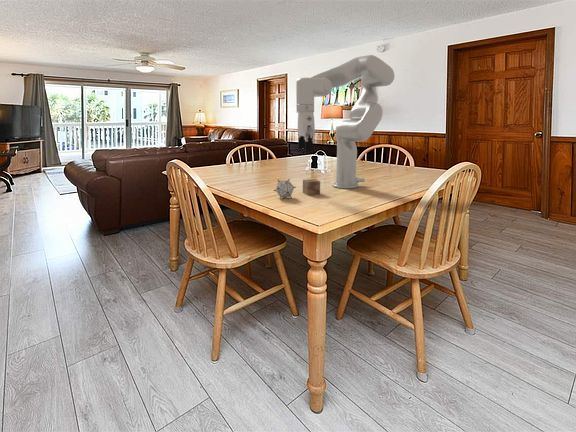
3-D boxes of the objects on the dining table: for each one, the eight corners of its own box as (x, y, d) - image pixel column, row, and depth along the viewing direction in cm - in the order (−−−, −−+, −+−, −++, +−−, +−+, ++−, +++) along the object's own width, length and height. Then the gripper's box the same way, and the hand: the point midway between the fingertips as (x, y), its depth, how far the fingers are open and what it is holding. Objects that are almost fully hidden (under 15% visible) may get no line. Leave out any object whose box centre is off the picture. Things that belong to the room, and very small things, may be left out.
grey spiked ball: (288, 207, 153) (292, 191, 145) (269, 199, 154) (273, 183, 146) (295, 193, 159) (300, 177, 151) (277, 186, 159) (281, 170, 152)
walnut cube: (314, 191, 166) (315, 179, 164) (319, 194, 160) (320, 181, 158) (302, 192, 164) (302, 179, 162) (307, 195, 158) (307, 182, 157)
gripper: (321, 108, 145) (320, 151, 150) (307, 109, 161) (307, 147, 166) (303, 108, 143) (303, 152, 148) (291, 109, 159) (291, 148, 164)
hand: (305, 149), depth 157 cm, fingers open, 9 cm apart
